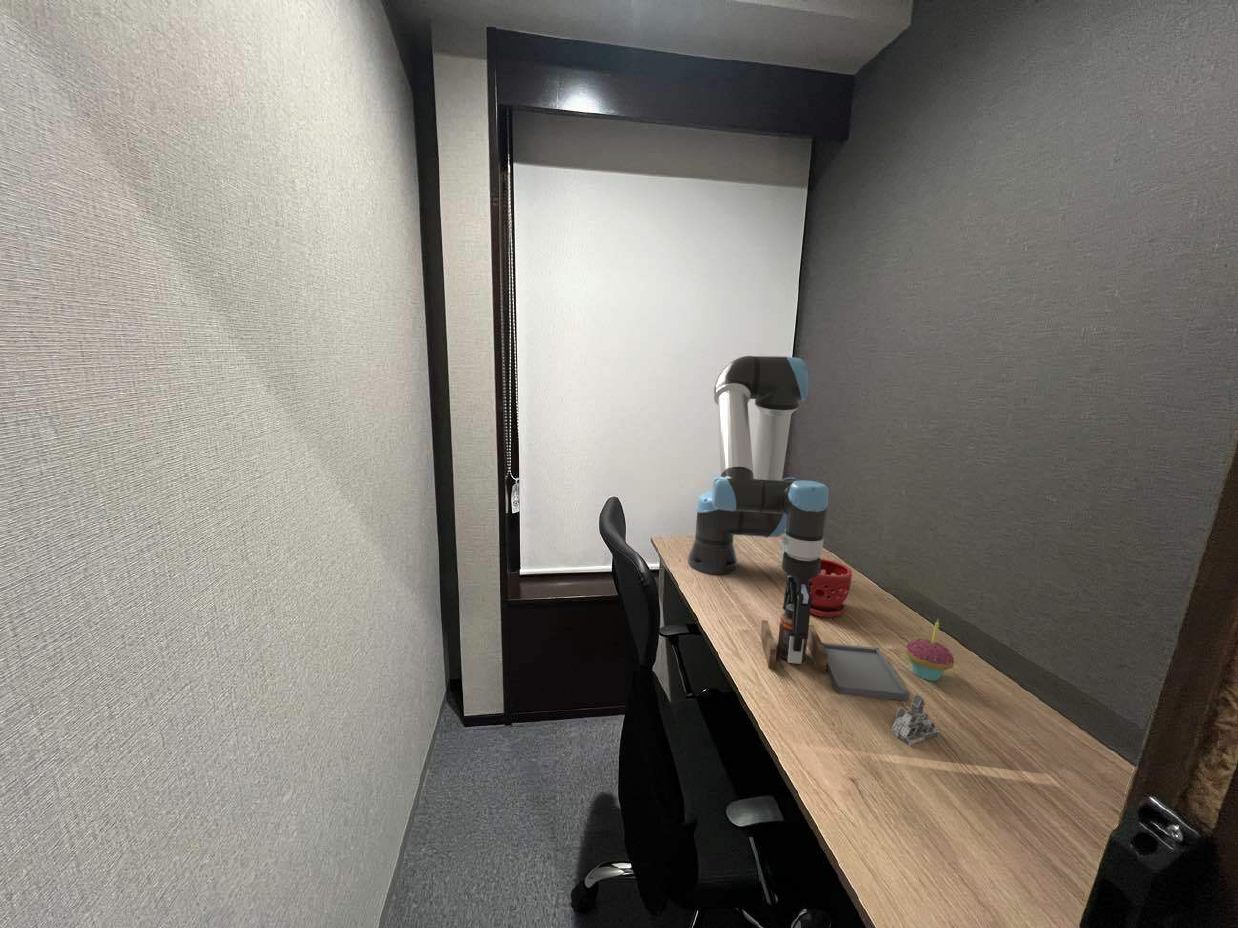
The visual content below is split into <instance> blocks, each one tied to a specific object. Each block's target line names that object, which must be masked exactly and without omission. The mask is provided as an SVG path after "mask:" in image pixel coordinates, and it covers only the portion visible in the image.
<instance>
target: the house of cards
mask: <svg viewBox="0 0 1238 928" xmlns="http://www.w3.org/2000/svg"><path fill="white" fill-rule="evenodd" d="M910 703H911V705H910V710H908V711H907V710H906V709H904V708H903V707H901V706H900V707H899V708H898V710H897V712H896V714H895V721H894V723H893V725H892V726H891V727H890V733H892V734H893V735H894V736H896V737H897V738H898V739H899V740H901V741H903V742H904V743H905V744H906V745H907V746H909V747H911V745H914V744H917V743H920V742H925V740H927V739H931V738H933V737H938V736H939V730H938V729H937V728H936V726H935V724H934V722H933V720H931V719H929V718H930V717H929V715H928V712H926V711H925V710H924V706H925V705H926V703H925V699H924V698H923V697H922V696H921V695H919V694H917V693H915V695H914V697H913V699H912V700H911V702H910Z"/></svg>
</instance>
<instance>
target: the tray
mask: <svg viewBox="0 0 1238 928" xmlns="http://www.w3.org/2000/svg"><path fill="white" fill-rule="evenodd" d="M821 642H822V641H821ZM822 644H823V646H824V648H825V650H826V652H827V654H828V656H827V664H826V670H827V673H828V675H829V677H830V680H831V681H832V683H833V686H834V688H835V691H836V693H837V694H842V695H850V696H859V697H861V696H862V697H868V698H878V699H886V700H887V699H888V700H895V701H896V700H897V701H905V702H909V700H910V693H909V691H908V689H907V688H906V687H905V685H904V683H903V682H902V681H901V679H900V678H899V676H898V675H897V673H896V672H895V670H894V668H893V667H892V666H891V664H890V663H889V661H888V660H887V659H886V657H885V656H884V654H883V652H882V651H881V650H880V648H879V647H872V646H862V645H853V644H852V645H850V644H841V643H832V642H822Z"/></svg>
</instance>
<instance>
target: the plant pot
mask: <svg viewBox="0 0 1238 928" xmlns="http://www.w3.org/2000/svg"><path fill="white" fill-rule="evenodd" d="M820 559H821V563H820V571H819V575H818V576H816V577H814V578H811V579H809V583H810V585H811V590H810V592H809V594H812V596H813V599H812V603H811V609H810V615H814V616H819V617H824V618H831V617H832V618H833V617H837V616H840V615H842V614H843V613H844V612H845V607H846V606H845V605H844V602H846V599H847V597H848V594H849V592H850V589H851V583H852V576H853V574H852V573H853V571H852V570H851V569H850V568H849V567H848V566H847V565H845V564H844V563H843V564H842V563H840V562H838V561H834V560H830V559H823V558H820ZM823 570H824V571H825V573H822V571H823ZM832 574H834V575H832Z"/></svg>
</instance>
